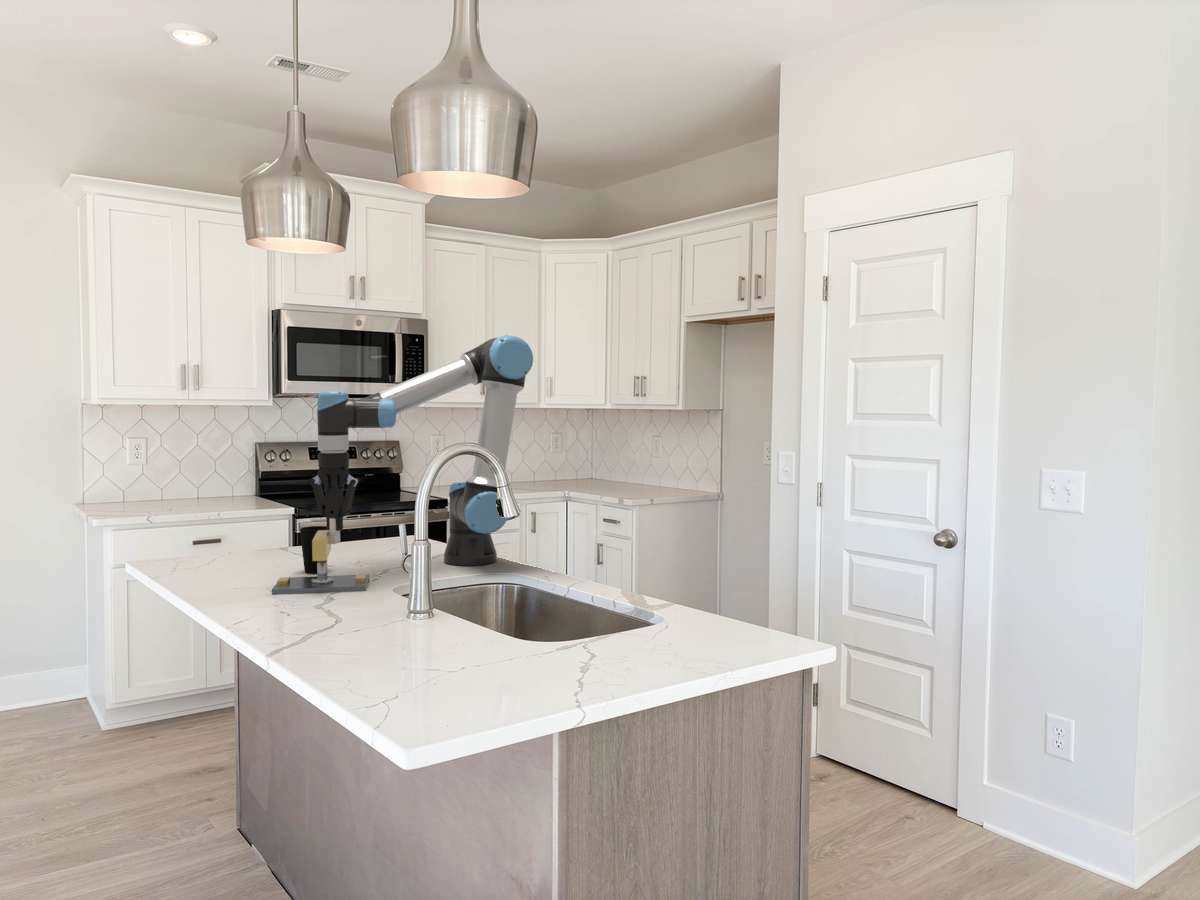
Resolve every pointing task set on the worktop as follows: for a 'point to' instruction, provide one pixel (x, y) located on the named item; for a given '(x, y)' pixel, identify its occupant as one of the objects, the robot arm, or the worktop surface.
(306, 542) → the cup
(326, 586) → the plate
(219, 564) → the worktop surface
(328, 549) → the flat gold bar
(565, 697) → the worktop surface
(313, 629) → the worktop surface
